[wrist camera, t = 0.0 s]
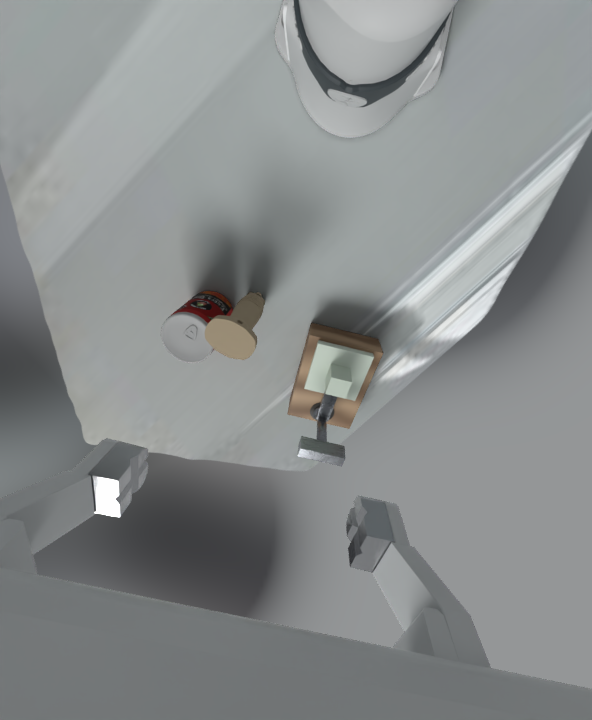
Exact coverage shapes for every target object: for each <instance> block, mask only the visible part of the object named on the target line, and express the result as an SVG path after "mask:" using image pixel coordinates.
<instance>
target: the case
mask: <svg viewBox="0 0 592 720" xmlns="http://www.w3.org/2000/svg"><path fill="white" fill-rule="evenodd" d="M318 340H320V341H324V342H328V343H332V344H336V345H340V346H345V347H349V348H353V349H357V350H361V351H365V352H369V353H373V355H374V359H373V361H372V363H371V366H370V368H369V370H368V372H367V375H366V377H365V379H364V382H363V384H362V386H361V389H360V391H359V393H358V396H357V398H356V400H355V401H353V400H349V399H344V398H340V397H337V400H336V402H335V405H334V408H333V410H332V413H331V417H330V418H329V420H328V422H326V424H331V425H335V426H339V427H343V428H348V429H349V428H350V426H351V424H352V422H353V419H354V417H355V415H356V413H357V410H358V408H359V406H360V404H361V402H362V399H363V397H364V395H365V393H366V390H367V388H368V386H369V384H370V381H371V379H372V377H373V375H374V373H375V370H376V368H377V366H378V364H379V361H380V359H381V357H382V355H383V351H382V348H381V345H380V343H379V340H378V339H376V338H372V337H368V336H364V335H360V334H356V333H352V332H348V331H344V330H340V329H336V328H332V327H328V326H324V325H320V324H315V323H311V325H310V329H309V332H308V336H307V340H306V343H305V347H304V350H303V354H302V358H301V361H300V365H299V368H298V372H297V376H296V379H295V383H294V386H293V390H292V394H291V397H290V403H289V409H288V415H292V416H297V417H301V418H305V419H309V420H314V421H317V420H316V419H315V418H314V416H313V411H314V409H315V408H316V407H318V406H320V403H321V400H322V398H323V395H324V393H320V392H315V391H311V390H307V389H304V387H305V382H306V379H307V376H308V372H309V369H310V366H311V362H312V359H313V356H314V352H315V349H316V346H317V343H318Z"/></svg>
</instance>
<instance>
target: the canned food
mask: <svg viewBox="0 0 592 720" xmlns="http://www.w3.org/2000/svg"><path fill="white" fill-rule="evenodd" d="M232 312H233V309H232V306H231V304H230V302H229V301H228V299H227V298H226V297H224V296H223V295H222V294H220V293H217V292H214V291H205V292H201V293H199V294H197V295H196V296H194V297H193V298H192V299H191V300H189V301H188V302H187V303H186V304H184V305H183V306H182V307H180V308H179V309H178V310H177V311H175V312H174V313H173V314H172V315H171V316H169V317H168V318H167V319H166V321H165V322H164V324H163V325H162V328H161V339H162V342H163V345H164V346H165V348H166V349H167V351H168V352H169V353H170V354H171V355H172V356H174V357H175V358H177V359H178V360H181V361H183V362H187V363H197V362H201V361H203V360H205V359H206V358H207V357H208V356H209V355H210V354H211V353H212V352H213V350H214V348H213V347H212V346H211V345H210V344H209V343H208V342H207V340H206V339H205V329H206V326H207V325H208V323H209V322H210V321H211V320H212V319H213V318H214V317H216V316H218V315H224V316H230V315H231V313H232Z"/></svg>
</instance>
